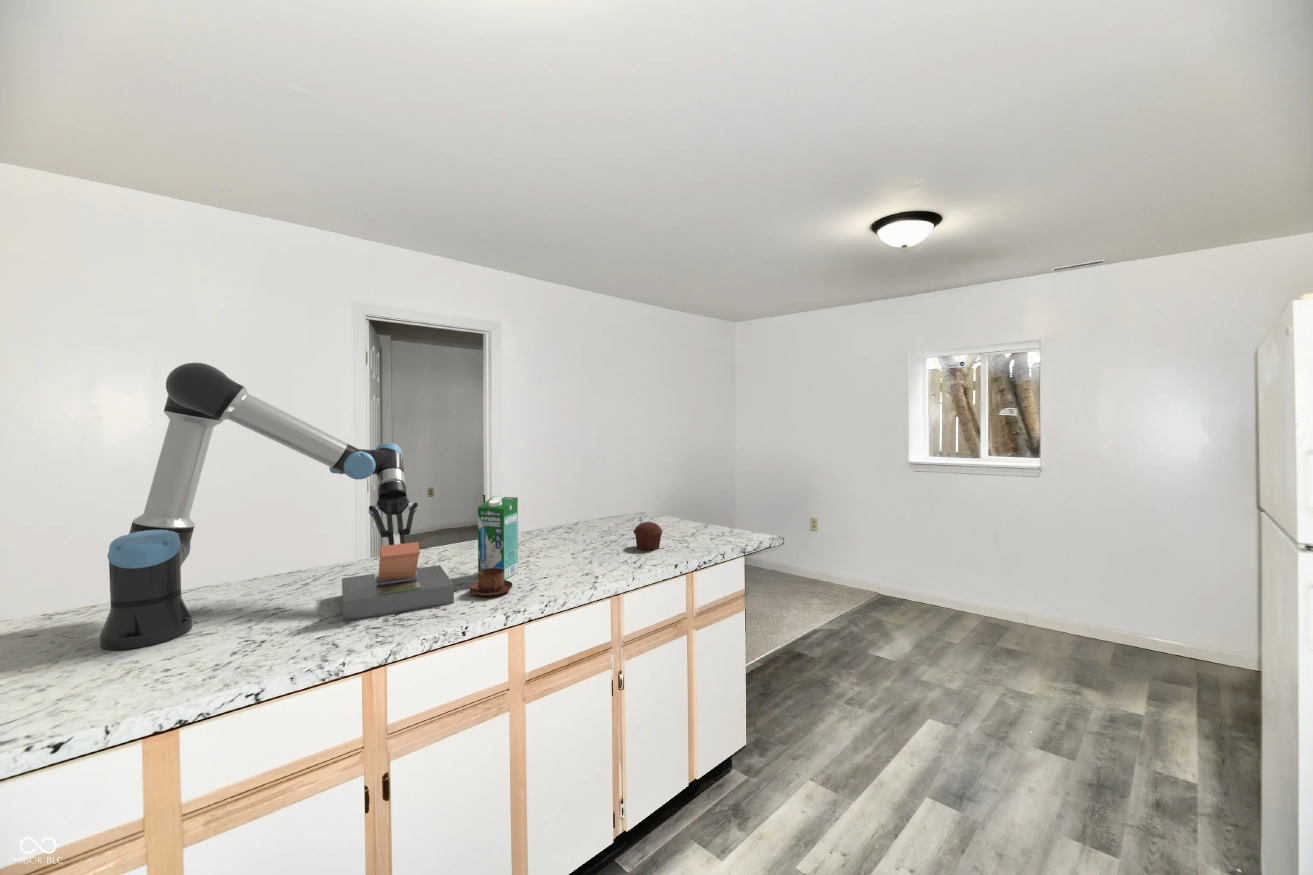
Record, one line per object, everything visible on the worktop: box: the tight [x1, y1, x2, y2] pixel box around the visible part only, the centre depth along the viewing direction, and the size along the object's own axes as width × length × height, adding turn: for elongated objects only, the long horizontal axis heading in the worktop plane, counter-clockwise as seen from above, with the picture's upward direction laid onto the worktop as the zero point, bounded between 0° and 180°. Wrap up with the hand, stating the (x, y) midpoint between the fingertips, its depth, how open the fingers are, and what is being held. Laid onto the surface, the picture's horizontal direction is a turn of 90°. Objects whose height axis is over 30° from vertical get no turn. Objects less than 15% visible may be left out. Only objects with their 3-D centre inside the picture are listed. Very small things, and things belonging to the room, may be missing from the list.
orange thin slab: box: [376, 541, 421, 584], centre depth 141 cm, size 3×10×15 cm
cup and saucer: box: [468, 568, 514, 597], centre depth 152 cm, size 12×12×6 cm
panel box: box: [341, 564, 455, 623], centre depth 145 cm, size 22×26×5 cm
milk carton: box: [477, 495, 519, 581], centre depth 167 cm, size 9×9×25 cm
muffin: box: [632, 521, 663, 552], centre depth 205 cm, size 12×11×10 cm
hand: (397, 556), depth 142 cm, fingers closed
